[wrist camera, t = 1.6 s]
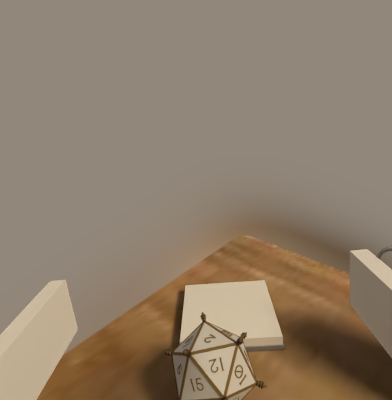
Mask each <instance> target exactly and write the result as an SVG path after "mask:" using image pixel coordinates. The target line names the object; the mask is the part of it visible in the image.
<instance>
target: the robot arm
mask: <svg viewBox="0 0 392 400" xmlns="http://www.w3.org/2000/svg"><path fill="white" fill-rule="evenodd" d="M350 305H351V306H352V307H353V309H354V310H355V311H356V313H357V314H358V315H359V316H360V318H361V319H362V320H363V322H364V323H365V324H366V326H367V327H368V328H369V329H370V331H371V332H372V333H373V335H374V336H375V337H376V339H377V340H378V341H379V342H380V344H381V345H382V346H383V348H384V349H385V350H386V352H387V353H388V354H389V355H390V357H391V358H392V269H390V268H389V267H388V266H387V265H386V264H384V263H383V262H382V261H381V260H380V259H378V258H377V257H376V256H375V255H373V254H372V253H371V252H370V251H369V250H367V249H364V250H355V251H350ZM77 330H78V328H77V324H76V320H75V316H74V313H73V308H72V305H71V300H70V297H69V292H68V288H67V284H66V280H59V281H50V282H49V283H48V284H47V285H46V286H45V287H44V288H43V289H42V291H41V292H40V293H39V294H38V295H37V296H36V297H35V298H34V299H33V300H32V302H30V304H29V305H28V306H27V307H26V308H25V309H24V310H23V311H22V312H21V313H20V314H19V315H18V316H17V317H16V319H15V320H14V321H13V322H12V323H11V324H10V325H9V326H8V327H7V328H6V329H5V330H4V331H3V333H2V334H1V335H0V400H36V399H37V398H38V396H39V394H40V393H41V391H42V389H43V388H44V386H45V384H46V382H47V381H48V379H49V377H50V376H51V374H52V372H53V371H54V369H55V367H56V365H57V364H58V362H59V360H60V359H61V357H62V355H63V354H64V352H65V350H66V348H67V347H68V345H69V343H70V342H71V340H72V338H73V337H74V335H75V333H76V332H77Z"/></svg>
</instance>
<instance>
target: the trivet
mask: <svg viewBox="0 0 392 400" xmlns="http://www.w3.org/2000/svg"><path fill="white" fill-rule="evenodd" d="M202 312H203V313H204V314H205V315H206V321H207V322H209V323H211V324H213V325H216V326H218V327H220V328H222V329H224V330H227V331H229V332H231V333H233V334H235V335H238V336H241V334H242V333H245V332H247V337H245V339H243V340H244V341H243V342H244V345H245V348H246V351H263V350H282V349H285V344H284V341H283V336H282V333H281V329H280V326H279V323H278V320H277V317H276V314H275V311H274V308H273V305H272V302H271V299H270V296H269V292H268V289H267V286H266V283H265V280H262V281H247V282H231V283H216V284H201V285H186V287H185V296H184V306H183V315H182V325H181V335H180V344H181V343H182V342H183V341H184V340H185V339H186V338H187V337H188V336H189V335H190V334H191V333H192V332H193V331H194V330H195V329H196V328H197V327H198V326H199V325H200V324H201V323H202V319H201V317H200V316H201V314H202Z"/></svg>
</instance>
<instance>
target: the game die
mask: <svg viewBox="0 0 392 400" xmlns="http://www.w3.org/2000/svg"><path fill="white" fill-rule="evenodd" d="M200 317H201V319H202V323H201V324H200V325H199V326H198V327H197V328H196V329H195V330H194V331H193V332H192V333H191V334H190V335H189V336H188V337H187V338H186V339H185V340H184V341H183V342H182V343H181V344H180V345H179V346H178V347H177V348H176V349H175V350H174V351H173V352H172V351H171V350H169V349H167V350H163V351H164V352H165V353H166V355H168V356H169V355H171V356H172V361H173V368H174V374H175V380H176V387H177V393H178V399H179V400H242V399H243V398H244V397H245V396H246V395H247V394H248V393H249V392H250V391H251V390H252V389H253V388H254V387H255V386H256V385H257V386H259V388H260V387H261V388H264V387H267V386H266V385H265V384H264V383H263V382H261V381H257V380H256V377H255V374H254V371H253V368H252V365H251V362H250V359H249V356H248V353H247V351H246V348H245V345H244V342H243V341H244V340H243V339H245V337H247V332H245V333H242V334H241V336H238V335H235V334H233V333H231V332H229V331H227V330H224V329H222V328H220V327H218V326H216V325H213V324H211V323H209V322H207V321H206V315H205V314H204V313H203V312H202V314H201V316H200Z"/></svg>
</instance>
